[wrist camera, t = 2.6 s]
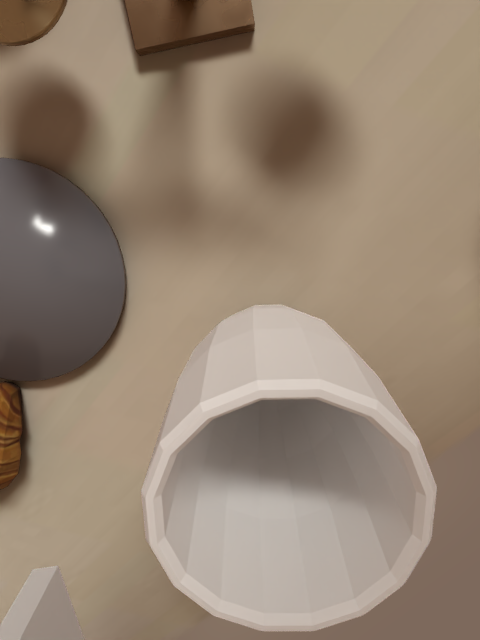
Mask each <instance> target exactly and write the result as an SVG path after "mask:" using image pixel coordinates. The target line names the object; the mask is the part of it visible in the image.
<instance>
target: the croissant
mask: <svg viewBox="0 0 480 640" xmlns="http://www.w3.org/2000/svg"><path fill="white" fill-rule="evenodd" d="M21 434H22V401H21V393H20V387H18V386H17V385H16V384H14V383H11V382H6V381H5V382H1V383H0V489H3V488H5V487H7V486H8V485H9V484H10V483H11V482H12V480H13V479H14V478H15V477H16V475H17V474H18V471H19V464H20V458H21V448H20V437H21Z"/></svg>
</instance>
